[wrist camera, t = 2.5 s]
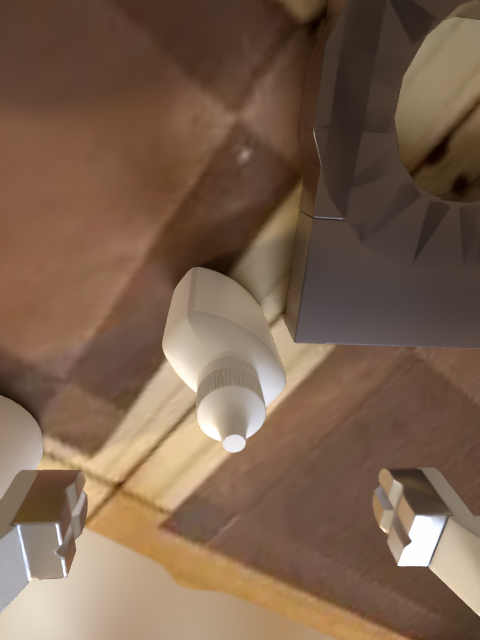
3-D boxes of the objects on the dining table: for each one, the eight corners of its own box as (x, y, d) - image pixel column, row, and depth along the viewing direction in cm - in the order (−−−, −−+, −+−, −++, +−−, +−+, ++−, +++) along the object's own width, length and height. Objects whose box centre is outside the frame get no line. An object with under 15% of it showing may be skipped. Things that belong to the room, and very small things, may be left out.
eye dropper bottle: (236, 246, 21) (269, 342, 10) (270, 328, 23) (327, 480, 12) (166, 276, 21) (124, 399, 10) (206, 354, 24) (206, 523, 13)
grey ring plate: (327, -111, 15) (353, -169, 13) (647, -57, 17) (732, -99, 14) (274, 321, 23) (283, 342, 20) (498, 329, 25) (535, 350, 22)
